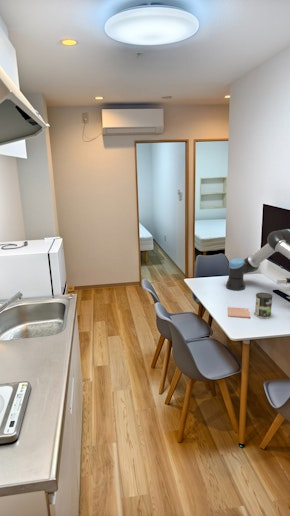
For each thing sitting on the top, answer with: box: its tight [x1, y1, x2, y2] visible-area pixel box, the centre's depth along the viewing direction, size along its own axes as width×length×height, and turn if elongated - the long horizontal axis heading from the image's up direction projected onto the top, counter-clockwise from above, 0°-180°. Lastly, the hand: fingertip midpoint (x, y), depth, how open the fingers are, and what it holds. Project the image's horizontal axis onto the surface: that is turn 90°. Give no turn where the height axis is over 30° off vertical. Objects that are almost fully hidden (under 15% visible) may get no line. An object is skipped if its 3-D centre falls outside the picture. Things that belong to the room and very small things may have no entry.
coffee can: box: [254, 292, 273, 319], centre depth 226 cm, size 10×10×14 cm
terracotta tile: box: [227, 306, 251, 319], centre depth 231 cm, size 14×14×1 cm
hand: (281, 284), depth 226 cm, fingers open, 13 cm apart
